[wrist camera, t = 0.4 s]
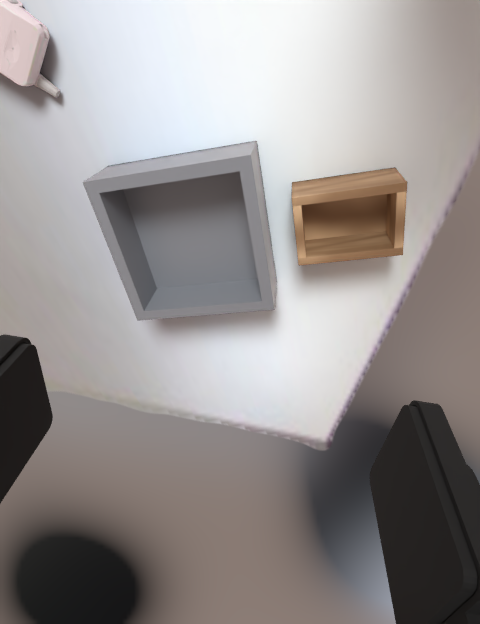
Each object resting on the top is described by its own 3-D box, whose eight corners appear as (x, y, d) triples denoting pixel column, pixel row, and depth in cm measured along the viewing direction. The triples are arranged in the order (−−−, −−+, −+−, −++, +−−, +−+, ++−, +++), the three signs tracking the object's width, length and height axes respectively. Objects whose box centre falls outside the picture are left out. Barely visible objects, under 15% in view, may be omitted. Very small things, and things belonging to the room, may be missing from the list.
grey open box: (108, 165, 41) (82, 182, 36) (256, 140, 37) (250, 154, 33) (153, 293, 49) (137, 320, 44) (276, 281, 46) (274, 309, 41)
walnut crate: (292, 182, 39) (291, 198, 35) (395, 167, 37) (407, 182, 33) (298, 244, 43) (298, 265, 39) (392, 234, 41) (402, 254, 37)
